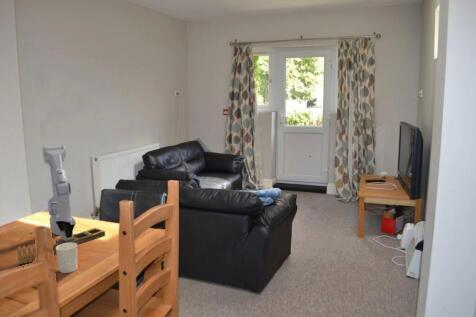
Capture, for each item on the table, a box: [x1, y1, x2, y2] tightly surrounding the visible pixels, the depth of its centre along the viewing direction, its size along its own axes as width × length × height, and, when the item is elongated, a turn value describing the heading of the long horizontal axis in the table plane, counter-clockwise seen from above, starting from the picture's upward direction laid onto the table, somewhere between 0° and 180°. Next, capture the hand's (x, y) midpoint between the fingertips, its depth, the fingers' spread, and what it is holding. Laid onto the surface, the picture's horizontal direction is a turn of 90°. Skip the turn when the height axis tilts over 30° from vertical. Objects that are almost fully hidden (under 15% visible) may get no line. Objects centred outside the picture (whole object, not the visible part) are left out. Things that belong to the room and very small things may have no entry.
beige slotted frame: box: [55, 227, 106, 246], centre depth 196 cm, size 8×21×2 cm, turn 141°
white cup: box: [55, 243, 78, 274], centre depth 163 cm, size 8×8×10 cm
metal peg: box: [59, 229, 74, 243], centre depth 190 cm, size 4×4×6 cm
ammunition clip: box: [17, 243, 37, 266], centre depth 160 cm, size 11×2×12 cm, turn 117°
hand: (66, 236), depth 190 cm, fingers closed on metal peg, 4 cm apart
